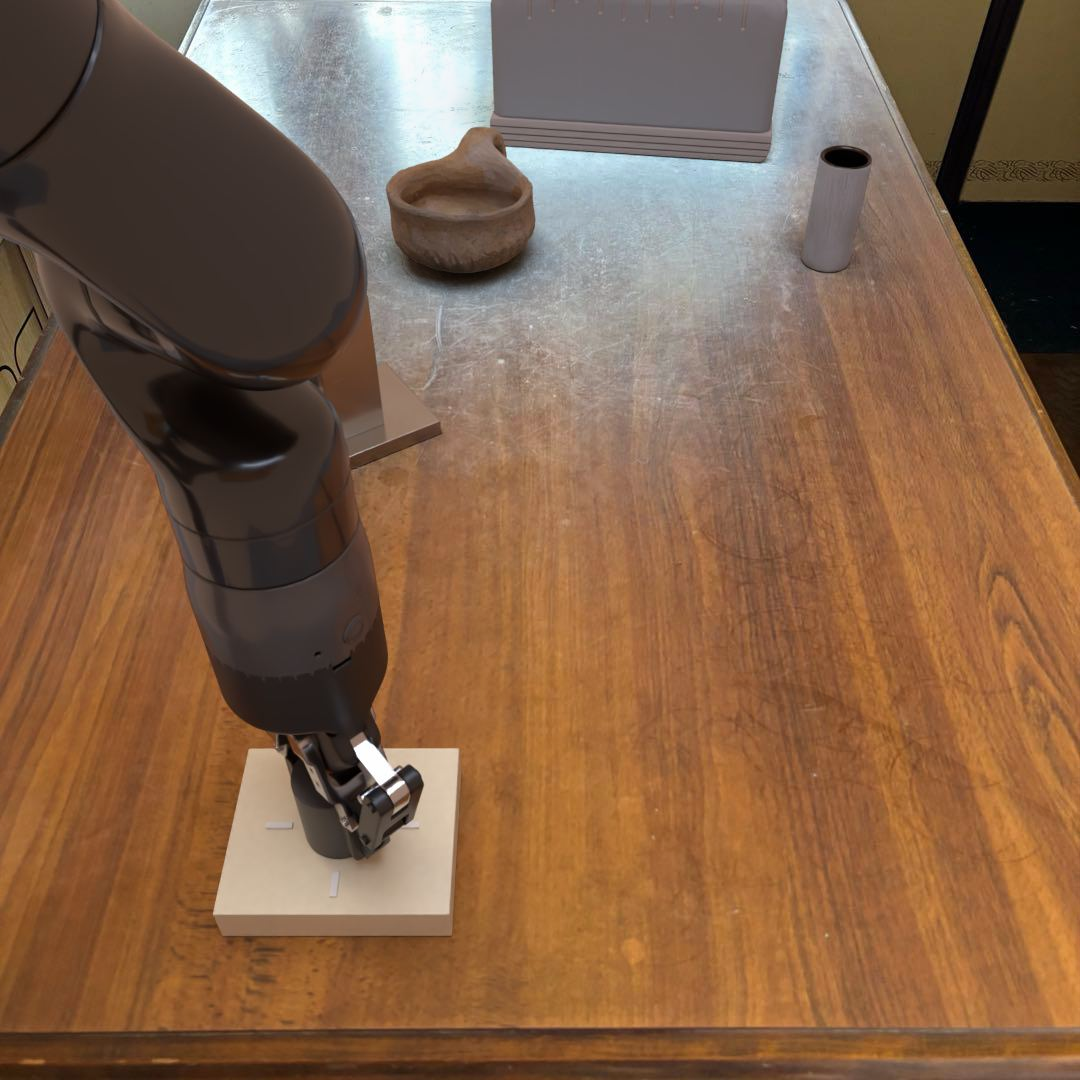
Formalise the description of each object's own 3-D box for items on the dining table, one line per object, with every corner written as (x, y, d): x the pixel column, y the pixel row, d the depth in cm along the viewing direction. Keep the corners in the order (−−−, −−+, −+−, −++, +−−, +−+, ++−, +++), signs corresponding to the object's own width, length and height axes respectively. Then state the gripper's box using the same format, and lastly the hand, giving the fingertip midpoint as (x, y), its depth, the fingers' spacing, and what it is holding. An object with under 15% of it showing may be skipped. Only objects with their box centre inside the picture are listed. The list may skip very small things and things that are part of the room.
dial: (383, 852, 58) (372, 798, 54) (306, 865, 58) (290, 811, 54) (377, 788, 61) (366, 732, 57) (304, 799, 60) (288, 744, 57)
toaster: (768, 35, 143) (790, -122, 130) (768, 163, 118) (795, -15, 105) (538, 23, 146) (537, -131, 133) (490, 145, 121) (484, -30, 108)
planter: (792, 262, 104) (811, 159, 97) (813, 242, 107) (833, 140, 99) (836, 278, 102) (859, 173, 95) (857, 257, 105) (881, 153, 97)
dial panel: (222, 936, 57) (211, 913, 56) (256, 772, 65) (248, 746, 63) (452, 936, 58) (449, 912, 56) (461, 772, 65) (459, 746, 63)
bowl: (386, 185, 112) (405, 91, 105) (520, 221, 114) (547, 131, 108) (366, 280, 99) (387, 179, 92) (517, 317, 102) (548, 222, 95)
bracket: (300, 490, 82) (270, 347, 73) (252, 425, 87) (219, 284, 78) (441, 433, 86) (429, 292, 77) (388, 375, 92) (371, 236, 83)
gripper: (125, 555, 48) (210, 772, 61) (309, 758, 41) (364, 959, 53) (271, 477, 52) (324, 697, 64) (465, 651, 44) (483, 862, 57)
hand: (342, 814), depth 58 cm, fingers open, 4 cm apart
